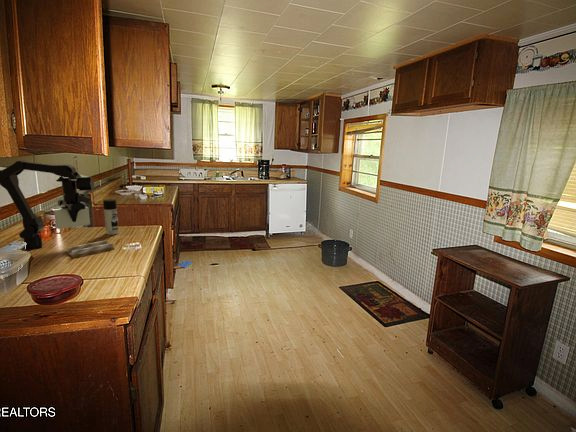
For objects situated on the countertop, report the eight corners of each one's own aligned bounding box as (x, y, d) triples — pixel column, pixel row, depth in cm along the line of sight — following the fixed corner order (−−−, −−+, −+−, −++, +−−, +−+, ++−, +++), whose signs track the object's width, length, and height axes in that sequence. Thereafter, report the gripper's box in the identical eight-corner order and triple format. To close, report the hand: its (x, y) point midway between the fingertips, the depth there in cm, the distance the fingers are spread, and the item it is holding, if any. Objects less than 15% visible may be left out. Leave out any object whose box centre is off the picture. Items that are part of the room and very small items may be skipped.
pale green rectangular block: (58, 229, 153) (56, 211, 151) (55, 227, 155) (53, 209, 153) (90, 224, 164) (88, 207, 162) (87, 223, 166) (85, 206, 164)
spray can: (113, 235, 182) (110, 201, 178) (103, 234, 183) (100, 200, 179) (121, 232, 188) (119, 199, 184) (111, 231, 190) (109, 198, 185)
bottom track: (73, 258, 145) (73, 251, 144) (66, 253, 150) (65, 247, 150) (114, 249, 159) (113, 243, 158) (106, 245, 164) (106, 239, 164)
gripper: (95, 191, 156) (98, 221, 160) (80, 187, 167) (83, 215, 171) (69, 193, 148) (73, 225, 151) (55, 188, 159) (59, 219, 162)
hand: (72, 221), depth 159 cm, fingers closed on pale green rectangular block, 3 cm apart
